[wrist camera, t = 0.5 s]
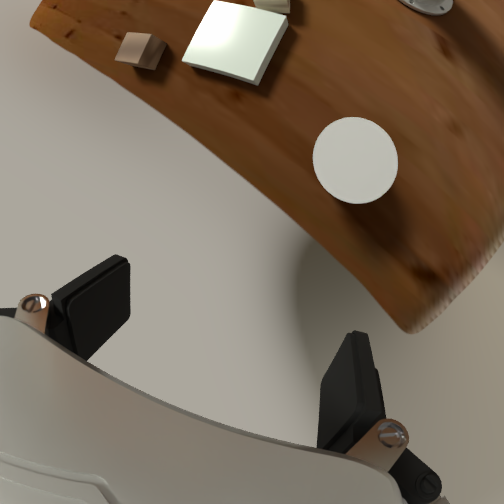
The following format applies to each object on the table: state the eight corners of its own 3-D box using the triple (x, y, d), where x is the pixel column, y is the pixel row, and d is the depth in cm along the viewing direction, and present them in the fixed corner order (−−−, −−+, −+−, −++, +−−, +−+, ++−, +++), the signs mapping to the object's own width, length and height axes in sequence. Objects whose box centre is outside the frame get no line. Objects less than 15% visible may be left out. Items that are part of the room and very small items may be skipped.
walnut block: (144, 40, 33) (127, 32, 28) (167, 43, 32) (151, 34, 28) (132, 66, 35) (114, 60, 30) (155, 70, 34) (137, 63, 30)
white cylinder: (313, 186, 36) (312, 201, 25) (312, 127, 33) (311, 115, 22) (371, 189, 35) (395, 206, 24) (371, 130, 32) (397, 121, 21)
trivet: (220, 8, 29) (213, 0, 26) (288, 24, 28) (286, 16, 26) (190, 65, 33) (181, 60, 31) (257, 85, 33) (253, 80, 30)
